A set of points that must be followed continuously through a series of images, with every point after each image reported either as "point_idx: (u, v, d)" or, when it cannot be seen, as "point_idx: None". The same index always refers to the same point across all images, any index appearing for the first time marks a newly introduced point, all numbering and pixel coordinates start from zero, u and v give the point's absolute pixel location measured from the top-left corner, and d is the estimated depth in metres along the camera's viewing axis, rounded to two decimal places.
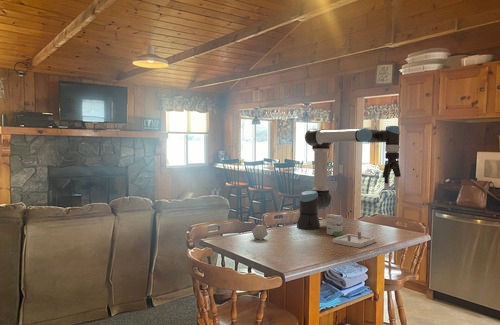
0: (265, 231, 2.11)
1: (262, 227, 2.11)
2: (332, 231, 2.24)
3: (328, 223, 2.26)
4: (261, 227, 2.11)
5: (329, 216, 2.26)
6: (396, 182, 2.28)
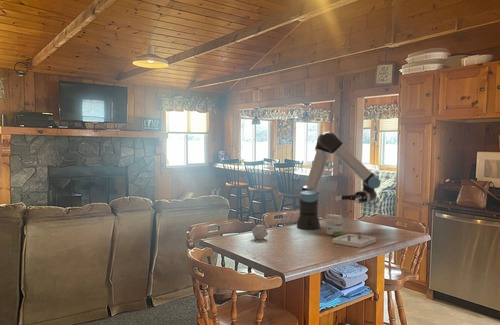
0: (265, 231, 2.11)
1: (262, 227, 2.11)
2: (332, 231, 2.24)
3: (328, 223, 2.26)
4: (261, 227, 2.11)
5: (329, 216, 2.26)
6: (338, 198, 2.41)
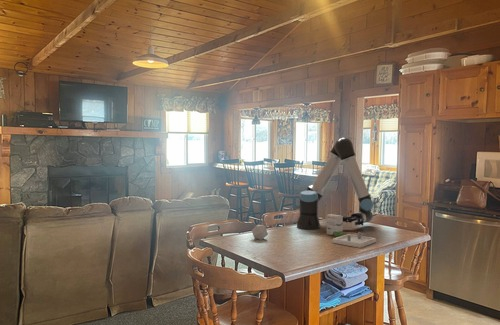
0: (265, 231, 2.11)
1: (262, 227, 2.11)
2: (332, 231, 2.24)
3: (328, 223, 2.26)
4: (261, 227, 2.11)
5: (329, 216, 2.26)
6: None
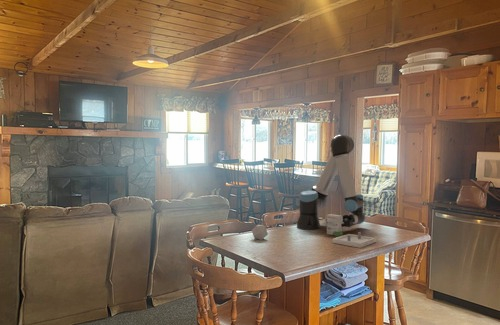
0: (265, 231, 2.11)
1: (262, 227, 2.11)
2: (332, 231, 2.24)
3: (328, 223, 2.26)
4: (261, 227, 2.11)
5: (329, 216, 2.25)
6: (326, 223, 2.27)
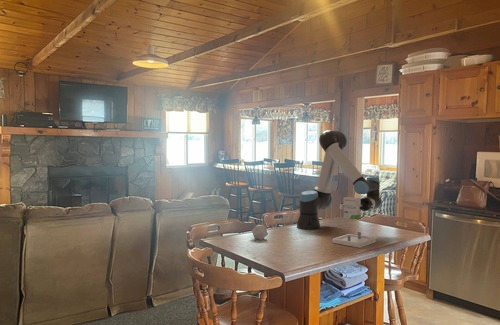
0: (265, 231, 2.11)
1: (262, 227, 2.11)
2: (350, 215, 2.09)
3: (345, 206, 2.12)
4: (261, 227, 2.11)
5: (346, 199, 2.11)
6: None
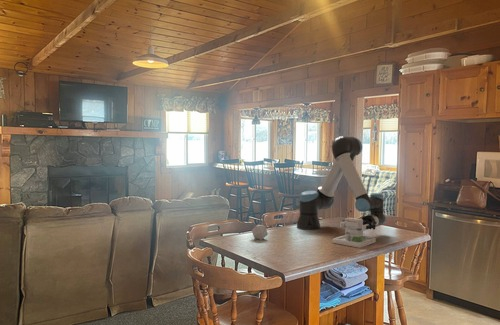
0: (265, 231, 2.11)
1: (262, 227, 2.11)
2: (352, 236, 2.04)
3: (347, 227, 2.07)
4: (261, 227, 2.11)
5: (348, 220, 2.06)
6: (343, 224, 2.10)
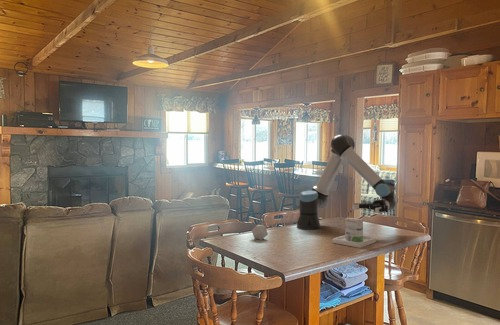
0: (265, 231, 2.11)
1: (262, 227, 2.11)
2: (352, 236, 2.04)
3: (347, 227, 2.07)
4: (261, 227, 2.11)
5: (348, 220, 2.06)
6: (356, 207, 2.19)
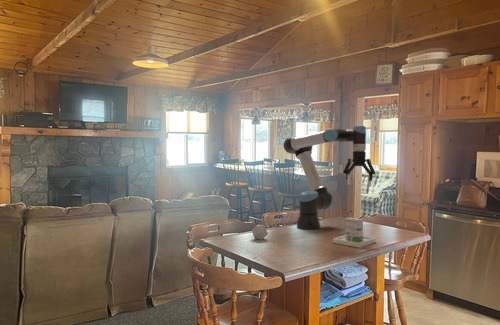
0: (265, 231, 2.11)
1: (262, 227, 2.11)
2: (352, 236, 2.04)
3: (347, 227, 2.07)
4: (261, 227, 2.11)
5: (348, 220, 2.06)
6: None
